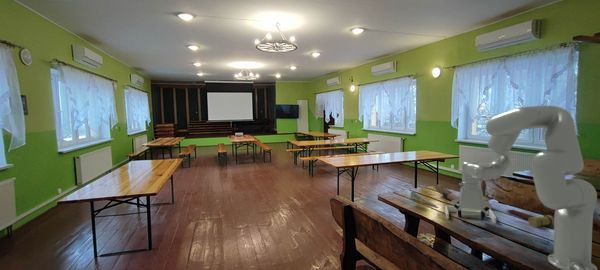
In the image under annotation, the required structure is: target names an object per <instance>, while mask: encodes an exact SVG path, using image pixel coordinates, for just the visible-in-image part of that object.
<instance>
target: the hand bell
mask: <svg viewBox="0 0 600 270" xmlns="http://www.w3.org/2000/svg"><path fill="white" fill-rule="evenodd" d="M485 180H486V179H485ZM485 180H481V182H480V188H481V189H482V193H483V200H485V201H487V202H489V203H490V200H489V198H488V197H487V196H486V190H487V183H486V181H485ZM485 207H487V205H486V204H484V207H483V208H485ZM489 209H491V210H493V206H491V207H490V208H489Z"/></svg>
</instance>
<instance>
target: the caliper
mask: <svg viewBox="0 0 600 270" xmlns="http://www.w3.org/2000/svg"><path fill="white" fill-rule="evenodd" d="M412 198H413V199H417V200H419V201H420V200H421V201H422V202H424V203H426V204H427V205H430V206H431V207H433V208H436V209H438V208H439V207H438V206H437V204H435V203H433V202H432V201H429V200H427V199H425V198H424V197H423V196H421V195H420V194H418V193H416V192H415V190H411V191H410V199H411V200H413V199H412Z"/></svg>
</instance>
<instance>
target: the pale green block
mask: <svg viewBox="0 0 600 270" xmlns="http://www.w3.org/2000/svg"><path fill="white" fill-rule="evenodd" d="M481 211H482V210H481V209H468V208H462V209H461V218H466V219H468V218H469V219H476V218H477V220H478V219H479V220H482V219H481ZM456 215H457V217H458V218H460V217H459V216H458V210H457V212H456Z"/></svg>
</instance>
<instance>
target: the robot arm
mask: <svg viewBox="0 0 600 270" xmlns="http://www.w3.org/2000/svg"><path fill="white" fill-rule="evenodd" d="M575 125H576V124H575V121H574V118H573V116H572V114H571V113H570V112H569V111H568V110H566V109H565V108H562V107H559V106H554V105H533V106H521V107H517V108H513V109H511V110H507V111H505V112H503V113H500V114H496V115H493V116H492V117H491V118H489V119H488V121H487V122H486V125H485V130H486V132H487V134H488V135H490V139H489V140H488V142H487V146H488V147H487V148H489V150H491V151H492V152H494V153H495V156H494V157H493V159H492V161H491V162H483V163H479V162H478V161H475V160H464V161H462V164H461V171H462V172H461V173H462V174H461V182H459V183H458V186H460V191H459V196H458V197H459V198H458V199H455V200H451V203H452V206H454V207H455V208H456V209H457V210H458V216H459V217H458V216H457V217H458V218H459V219H462V217H461V209H462V208H468V209H481V210H482V211H481V219H480V220H481V221H484V220H485V218H486V214H485V213H486V211H488V210H489V208H490V207H491V206H492V203H491V202H490V201H489V202H487V201H485V200H483V193H482V189H481V182H480V181H482V180H489V179H498V178H500V177H502V176H503V175H504V174H505V172H507V169H508V167H509V166H510V164H511V152H510V151H511V149H512V147H513V146H514V144H515V142H516V140H517V139H518V137H519V136H520V134H521V133H522V131H523V130H532V129H541V128H545V129H546V130H545V133H544V142H545V148H546V150H542V151H539V152H537V153H536V154H534V156H533V157H532V159H531V163H530V167H531V172H532V177H533V183H534V186H535V190H536V191H535V192H536V195H537V197H538V199H539V201H540V203H542V205H544V206H545V207H546V208H548V209H551V210H555V211H554V216H553V218H554V225H553V253H551V254H549V255H548V256H547V261H548V262H549V263H550V264H551V265H552V266H554V267H556V268H557V269H559V270H598V267H597V266H596V265H595V264H594V263H592V246H593V245H592V244H593V243H592V242H593V241H592V239H593V222H594V221H593V219H594V211H595V206H596V204H597V200H598V193H597V191H596V189H595V187H594V186H593V185H592V183H590V182H588V181H586V180H584V179H581V178H566V176H571V175H575V174H579V173H580V172H581V171H583V169H584V165H585V164H584V160H583V155H582V152H581V147H580V143H579V139H578V136H577V133H576V126H575ZM457 203H459V205H458V204H457ZM484 204H486V205H487V207H485V208H483V207H484ZM492 207H493V206H492Z"/></svg>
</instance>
